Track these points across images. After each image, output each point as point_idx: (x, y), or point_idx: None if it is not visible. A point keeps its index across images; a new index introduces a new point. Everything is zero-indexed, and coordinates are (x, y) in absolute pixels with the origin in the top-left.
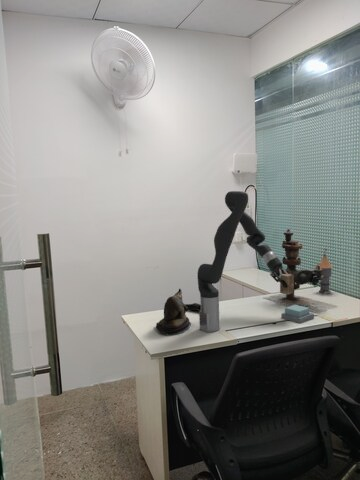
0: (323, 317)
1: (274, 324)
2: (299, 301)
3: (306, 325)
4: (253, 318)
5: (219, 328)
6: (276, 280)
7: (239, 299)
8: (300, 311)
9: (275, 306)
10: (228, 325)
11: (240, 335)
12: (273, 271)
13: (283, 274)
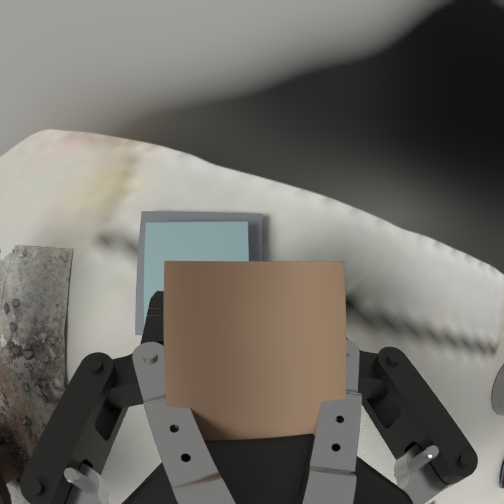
0: (110, 196)
1: (358, 290)
2: (2, 411)
3: (262, 184)
4: (362, 410)
5: (501, 370)
6: (389, 392)
7: None
8: (235, 222)
9: (132, 466)
10: (468, 389)
11: (493, 287)
12: (457, 473)
13: (284, 411)
